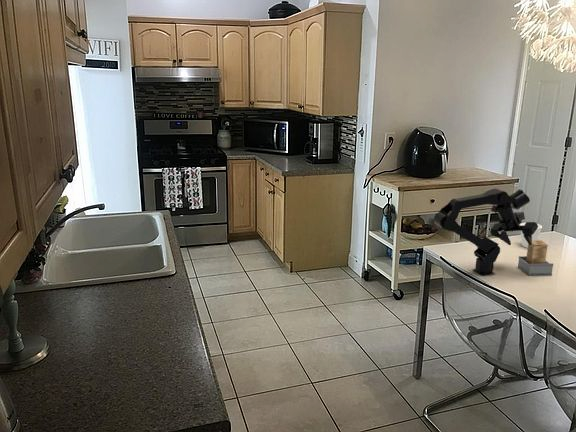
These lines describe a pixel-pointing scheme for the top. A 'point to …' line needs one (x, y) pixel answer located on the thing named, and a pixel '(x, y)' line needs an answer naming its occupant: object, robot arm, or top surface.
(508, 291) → the top surface
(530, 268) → the large crate
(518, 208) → the robot arm
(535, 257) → the small crate
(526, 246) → the cup
